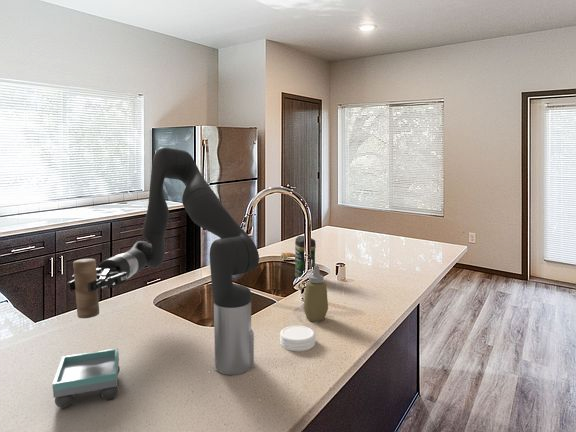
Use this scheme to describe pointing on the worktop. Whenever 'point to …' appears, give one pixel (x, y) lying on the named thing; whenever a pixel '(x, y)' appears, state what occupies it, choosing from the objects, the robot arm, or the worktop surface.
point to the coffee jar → (302, 255)
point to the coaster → (297, 338)
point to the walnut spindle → (85, 288)
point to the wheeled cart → (86, 375)
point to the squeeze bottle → (316, 297)
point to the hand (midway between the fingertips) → (79, 287)
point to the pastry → (287, 255)
